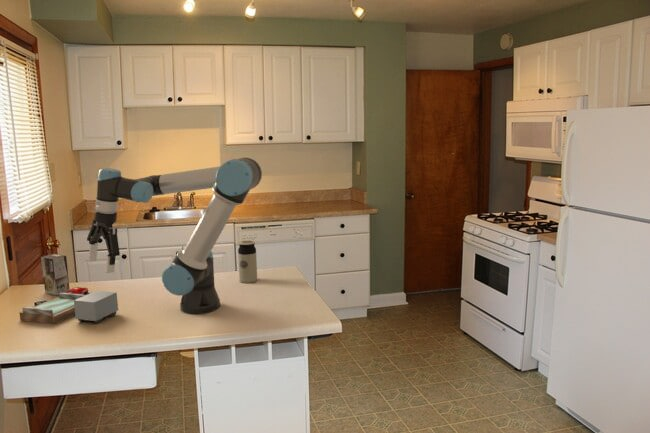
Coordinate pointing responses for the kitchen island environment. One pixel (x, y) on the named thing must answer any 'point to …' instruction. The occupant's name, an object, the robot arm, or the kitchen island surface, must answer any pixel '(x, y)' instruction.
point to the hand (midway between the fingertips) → (100, 266)
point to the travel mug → (247, 261)
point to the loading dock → (51, 309)
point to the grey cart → (96, 306)
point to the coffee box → (55, 274)
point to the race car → (78, 290)
